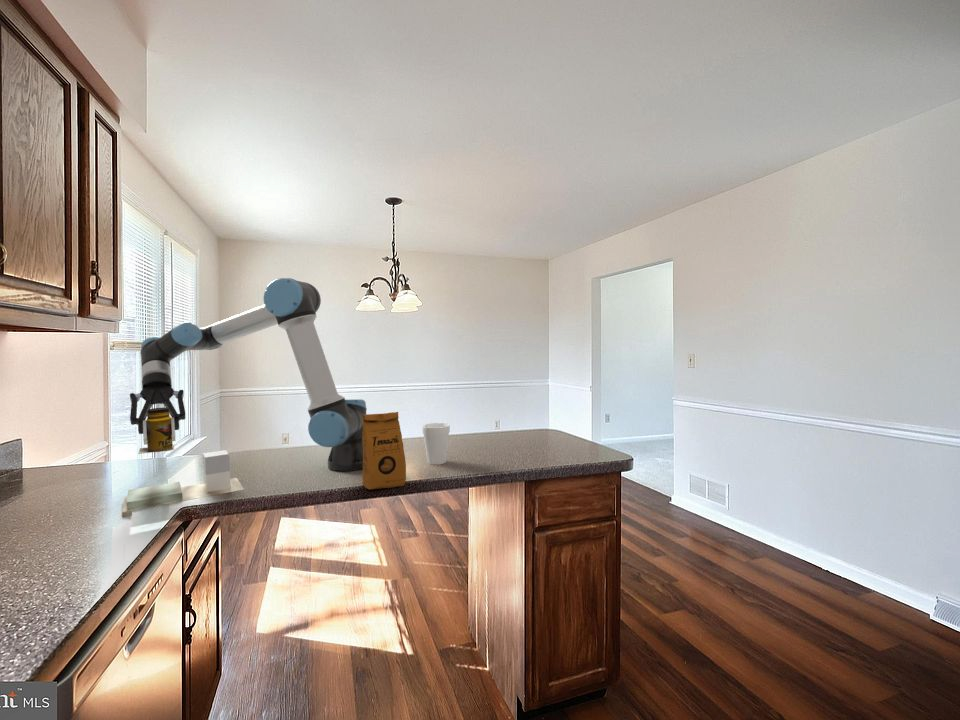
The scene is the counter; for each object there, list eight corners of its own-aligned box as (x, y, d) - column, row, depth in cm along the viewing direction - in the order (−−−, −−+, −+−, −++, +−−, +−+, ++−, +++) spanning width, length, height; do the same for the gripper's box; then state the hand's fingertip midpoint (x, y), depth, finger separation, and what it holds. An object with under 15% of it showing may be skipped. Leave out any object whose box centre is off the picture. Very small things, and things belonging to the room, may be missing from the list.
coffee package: (408, 488, 137) (406, 413, 136) (364, 493, 133) (362, 417, 132) (402, 478, 146) (400, 408, 145) (361, 483, 142) (359, 411, 141)
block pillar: (227, 482, 141) (226, 450, 141) (230, 487, 136) (228, 454, 136) (204, 486, 138) (202, 453, 137) (206, 492, 133) (205, 457, 132)
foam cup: (419, 464, 161) (418, 427, 161) (428, 458, 170) (427, 422, 170) (445, 466, 159) (444, 428, 158) (453, 459, 168) (452, 423, 167)
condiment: (173, 450, 135) (171, 409, 135) (137, 454, 131) (135, 412, 130) (174, 445, 141) (172, 405, 141) (139, 449, 137) (137, 408, 136)
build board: (236, 481, 146) (236, 471, 146) (244, 493, 135) (244, 482, 135) (124, 501, 130) (123, 490, 130) (122, 516, 119) (121, 504, 119)
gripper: (192, 384, 154) (198, 442, 141) (119, 388, 143) (119, 452, 131) (192, 368, 149) (198, 428, 136) (117, 372, 138) (116, 437, 126)
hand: (159, 440), depth 134 cm, fingers closed on condiment, 6 cm apart
